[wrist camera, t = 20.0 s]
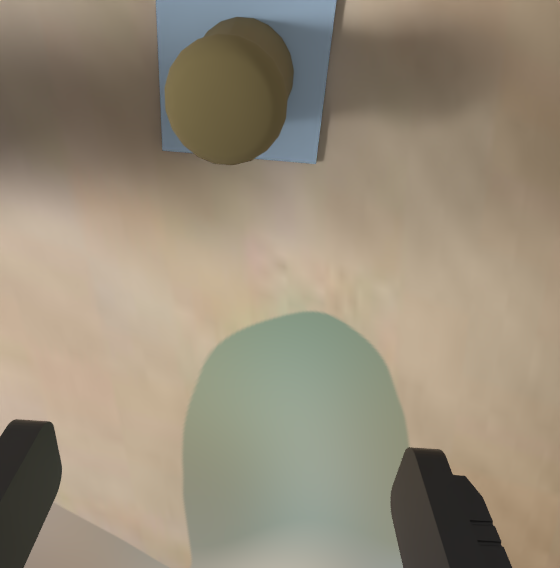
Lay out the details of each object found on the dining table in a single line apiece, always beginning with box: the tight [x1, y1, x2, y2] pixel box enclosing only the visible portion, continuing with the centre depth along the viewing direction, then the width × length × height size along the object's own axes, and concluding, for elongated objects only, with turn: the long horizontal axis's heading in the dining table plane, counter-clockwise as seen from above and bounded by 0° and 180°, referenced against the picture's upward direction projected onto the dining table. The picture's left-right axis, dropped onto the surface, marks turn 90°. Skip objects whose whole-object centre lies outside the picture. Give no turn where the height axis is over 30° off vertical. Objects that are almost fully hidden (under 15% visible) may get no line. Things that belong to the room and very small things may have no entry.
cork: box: [164, 17, 294, 165], centre depth 23 cm, size 6×6×11 cm
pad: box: [156, 0, 336, 164], centre depth 28 cm, size 10×10×1 cm
